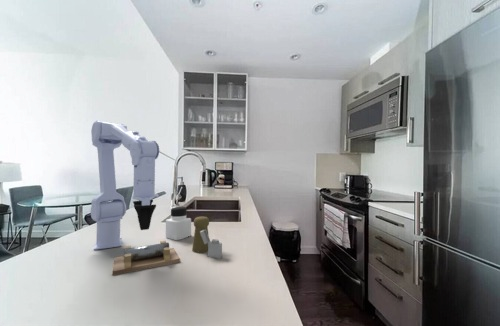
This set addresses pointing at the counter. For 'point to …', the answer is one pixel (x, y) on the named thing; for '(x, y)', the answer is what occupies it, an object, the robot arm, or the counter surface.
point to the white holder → (212, 245)
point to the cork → (198, 242)
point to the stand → (144, 261)
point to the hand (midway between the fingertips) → (143, 226)
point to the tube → (146, 251)
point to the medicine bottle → (178, 224)
